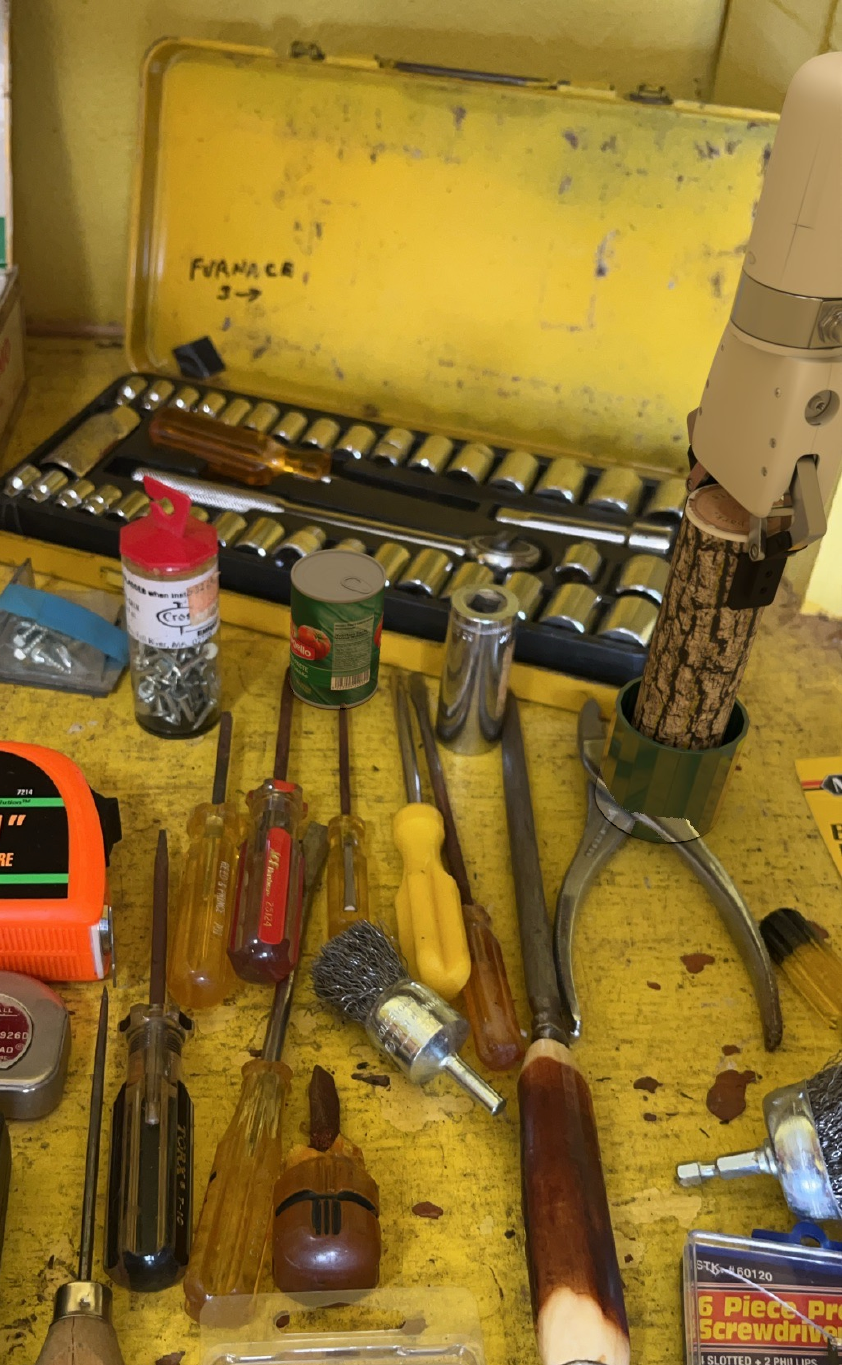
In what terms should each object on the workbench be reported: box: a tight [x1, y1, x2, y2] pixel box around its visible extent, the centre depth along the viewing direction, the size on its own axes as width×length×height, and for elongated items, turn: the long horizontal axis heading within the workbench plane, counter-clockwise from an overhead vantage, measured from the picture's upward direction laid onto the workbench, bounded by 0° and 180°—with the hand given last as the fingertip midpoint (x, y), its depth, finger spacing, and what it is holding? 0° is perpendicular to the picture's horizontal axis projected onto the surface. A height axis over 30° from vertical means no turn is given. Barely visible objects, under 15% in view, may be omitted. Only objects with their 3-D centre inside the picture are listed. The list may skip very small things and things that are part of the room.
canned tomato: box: [289, 548, 388, 710], centre depth 107 cm, size 8×8×11 cm
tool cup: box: [600, 675, 751, 844], centre depth 97 cm, size 10×10×9 cm
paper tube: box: [630, 484, 783, 750], centre depth 91 cm, size 7×7×25 cm
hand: (721, 574), depth 85 cm, fingers closed on paper tube, 6 cm apart
